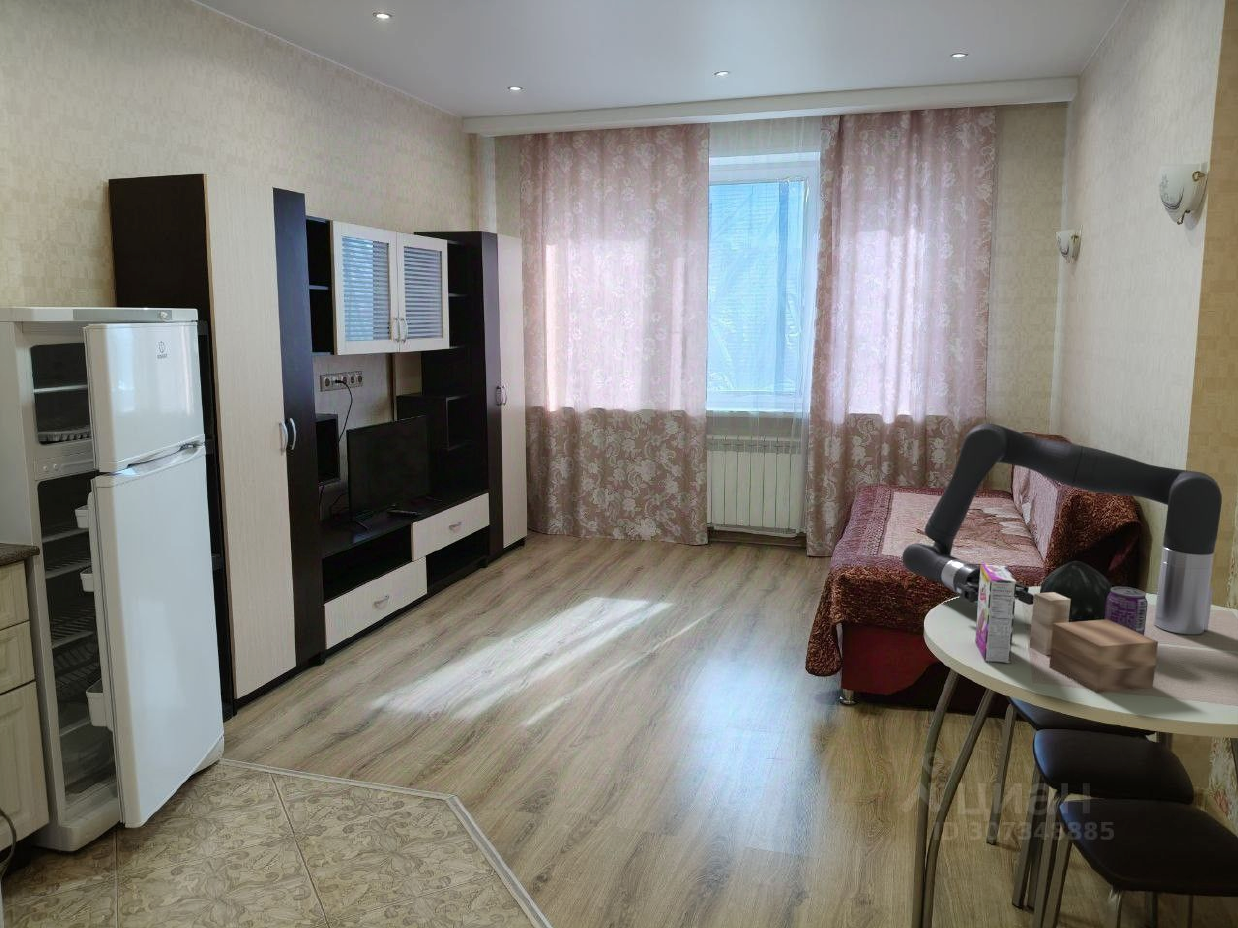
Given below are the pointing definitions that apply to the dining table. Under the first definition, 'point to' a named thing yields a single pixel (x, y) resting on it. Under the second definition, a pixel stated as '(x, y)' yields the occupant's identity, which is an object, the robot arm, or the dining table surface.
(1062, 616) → the birch block
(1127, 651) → the upper slab
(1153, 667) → the lower slab
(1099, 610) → the squash
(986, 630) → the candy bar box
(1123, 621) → the beverage can
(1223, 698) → the dining table surface
